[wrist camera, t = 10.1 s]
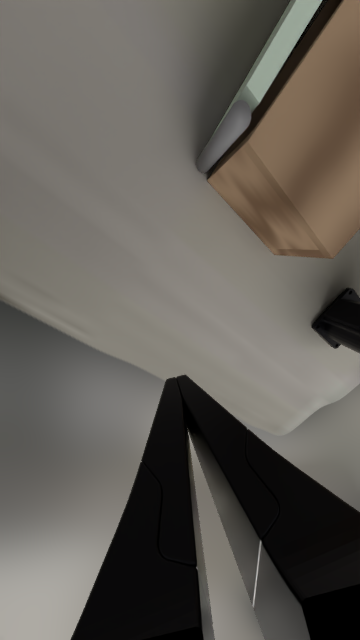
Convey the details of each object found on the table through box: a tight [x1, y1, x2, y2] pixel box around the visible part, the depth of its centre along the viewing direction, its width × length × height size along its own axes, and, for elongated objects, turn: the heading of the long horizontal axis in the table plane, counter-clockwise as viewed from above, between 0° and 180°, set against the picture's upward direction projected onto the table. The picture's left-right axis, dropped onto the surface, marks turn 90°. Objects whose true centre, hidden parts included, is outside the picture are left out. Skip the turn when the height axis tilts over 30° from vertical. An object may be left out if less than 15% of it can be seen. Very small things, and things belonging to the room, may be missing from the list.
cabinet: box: [207, 0, 360, 259], centre depth 13 cm, size 10×15×6 cm, turn 143°
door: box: [196, 0, 322, 173], centre depth 10 cm, size 2×15×6 cm, turn 145°
